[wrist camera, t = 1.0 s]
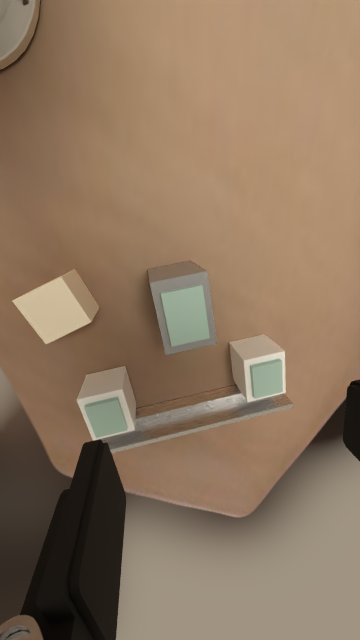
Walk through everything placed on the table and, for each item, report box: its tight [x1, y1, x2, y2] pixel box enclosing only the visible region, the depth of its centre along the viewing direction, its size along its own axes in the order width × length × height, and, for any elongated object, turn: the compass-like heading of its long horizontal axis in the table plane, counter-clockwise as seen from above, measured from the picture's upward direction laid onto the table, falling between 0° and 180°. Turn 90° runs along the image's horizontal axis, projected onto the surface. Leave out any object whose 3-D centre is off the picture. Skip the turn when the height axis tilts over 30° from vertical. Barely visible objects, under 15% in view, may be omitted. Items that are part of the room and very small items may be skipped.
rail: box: [94, 385, 293, 453], centre depth 32 cm, size 2×26×5 cm, turn 100°
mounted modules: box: [77, 334, 286, 441], centre depth 30 cm, size 6×24×6 cm, turn 100°
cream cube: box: [12, 269, 99, 344], centre depth 25 cm, size 5×5×5 cm
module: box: [148, 261, 217, 355], centre depth 25 cm, size 7×5×8 cm
